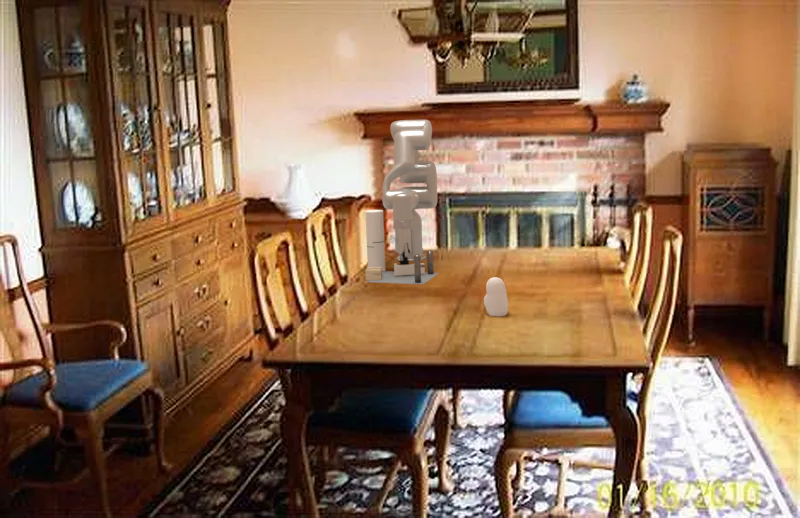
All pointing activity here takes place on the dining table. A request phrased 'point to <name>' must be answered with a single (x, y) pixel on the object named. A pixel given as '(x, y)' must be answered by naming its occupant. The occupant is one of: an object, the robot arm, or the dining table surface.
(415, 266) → the gate posts
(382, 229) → the cylindrical container
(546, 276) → the dining table surface
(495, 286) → the figurine
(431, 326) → the dining table surface
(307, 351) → the dining table surface
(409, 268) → the gate
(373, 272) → the block
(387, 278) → the slate mat
